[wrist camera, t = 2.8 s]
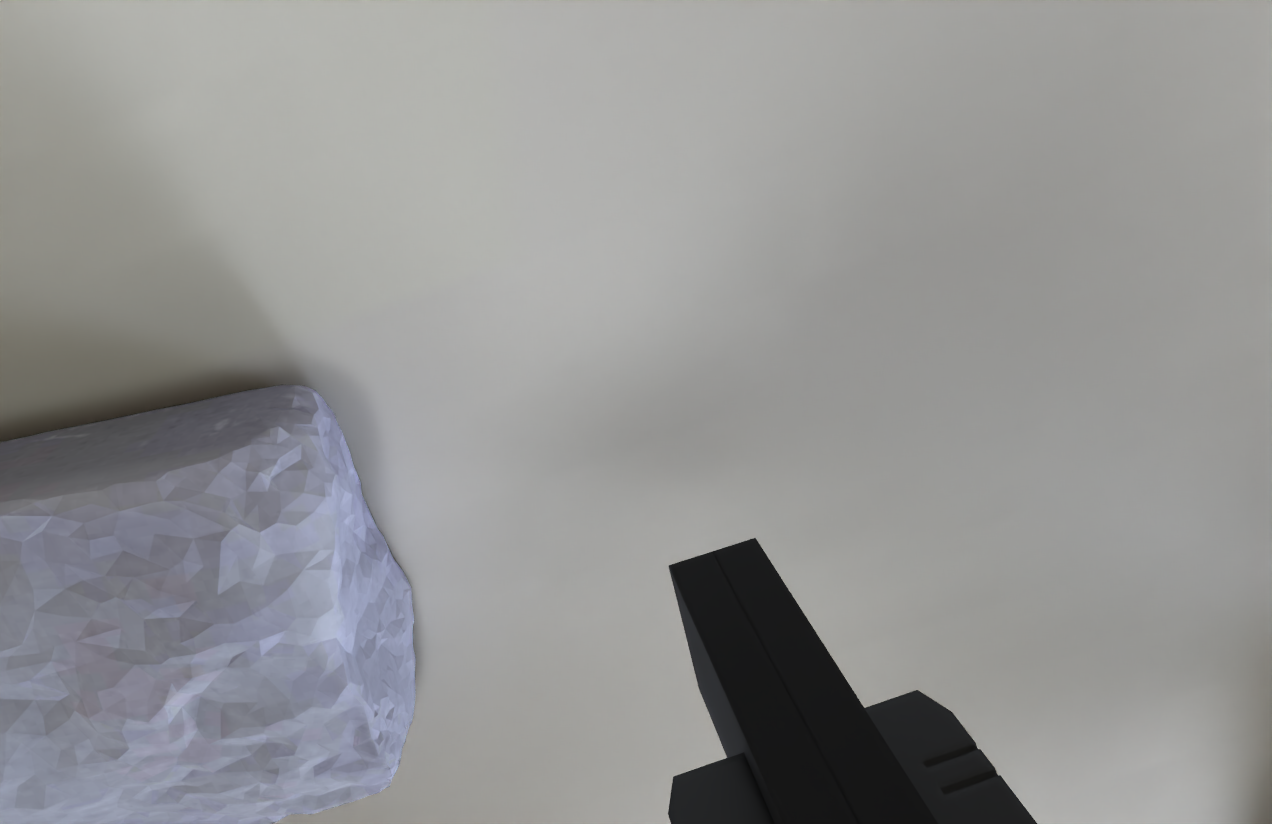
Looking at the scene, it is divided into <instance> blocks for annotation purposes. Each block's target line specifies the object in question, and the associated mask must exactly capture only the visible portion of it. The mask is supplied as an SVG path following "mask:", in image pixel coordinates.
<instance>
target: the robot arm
mask: <svg viewBox="0 0 1272 824" xmlns="http://www.w3.org/2000/svg"><path fill="white" fill-rule="evenodd" d="M669 569H670V573H671V577H672V581H673V585H674V589H675V593H676V597H677V601H678V605H679V610H680V614H681V618H682V622H683V626H684V630H685V634H686V638H687V642H688V646H689V650H690V654H691V658H692V662H693V666H694V670H695V674H696V678H697V682H698V686H699V689H700V692H701V694H702V697H703V699H704V702H705V704H706V707H707V709H708V711H709V714H710V716H711V719H712V721H713V724H714V726H715V729H716V731H717V733H718V736H719V738H720V741H721V743H722V746H723V748H724V751H725V753H726V755H727V758H726V759H723V760H720V761H717V762H714V763H711V764H709V765H706V766H703V767H700V768H697V769H694V770H691V771H688V772H685V773H682V774H680V775H677V776H674V777H673V783H672V790H671V797H670V804H669V811H668V815H669V818H670V821H671V824H1037V823H1036V822H1035V820H1034V819H1033V818H1032V816H1031V815H1030V814H1029V812H1028V811H1027V810H1026V808H1025V807H1024V806H1023V805H1022V803H1021V802H1020V801H1019V799H1018V798H1017V797H1016V795H1015V794H1014V793H1013V791H1012V790H1011V789H1010V788H1009V786H1008V785H1007V784H1006V782H1005V781H1004V780H1003V778H1002V777H1001V776H998V775H997V773H996V770H995V768H994V767H993V765H992V764H991V763H990V761H989V760H988V759H987V757H986V756H985V755H984V753H983V752H982V751H981V750H980V749H978V748H977V746H976V743H975V742H974V740H973V739H972V738H971V736H970V735H969V734H968V733H967V731H966V730H965V729H964V727H963V726H962V725H961V723H960V722H959V721H958V719H957V718H956V717H955V716H954V714H953V713H952V712H951V711H949V710H948V709H946V708H945V707H943V706H942V705H940V704H939V703H937V702H935V701H934V700H932V699H931V698H929V697H928V696H926V695H924V694H923V693H921V692H920V691H918V690H916V691H913V692H910V693H907V694H904V695H901V696H898V697H896V698H893V699H890V700H887V701H884V702H881V703H878V704H875V705H872V706H870V707H867V708H864V707H863V705H862V704H861V702H860V701H859V699H858V698H857V696H856V694H855V693H854V691H853V690H852V688H851V687H850V685H849V684H848V682H847V680H846V679H845V677H844V676H843V674H842V673H841V671H840V669H839V668H838V666H837V665H836V663H835V662H834V660H833V659H832V657H831V655H830V654H829V652H828V651H827V649H826V648H825V646H824V644H823V643H822V641H821V640H820V638H819V637H818V635H817V634H816V632H815V630H814V629H813V627H812V626H811V624H810V623H809V621H808V619H807V618H806V616H805V615H804V613H803V612H802V610H801V609H800V607H799V605H798V604H797V602H796V601H795V599H794V598H793V596H792V594H791V593H790V591H789V590H788V588H787V587H786V585H785V584H784V582H783V580H782V579H781V577H780V576H779V574H778V573H777V571H776V569H775V568H774V566H773V565H772V563H771V562H770V560H769V559H768V557H767V555H766V554H765V552H764V551H763V549H762V548H761V546H760V544H759V543H758V541H757V540H756V538H754V539H750V540H747V541H744V542H741V543H738V544H735V545H732V546H728V547H725V548H722V549H719V550H716V551H713V552H710V553H707V554H703V555H700V556H697V557H694V558H691V559H688V560H685V561H682V562H678V563H675V564H672V565H669Z"/></svg>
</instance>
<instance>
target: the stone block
mask: <svg viewBox="0 0 1272 824" xmlns="http://www.w3.org/2000/svg"><path fill="white" fill-rule="evenodd" d="M413 624H414V615H413V609H412V592H411V586H410V584H409V582H408V580H407V578H406V576H405V574H404V572H403V570H402V569H401V568H400V566H399V565H398V564H397V562H396V561H395V560H394V558H393V557H392V554H391V552H390V550H389V547H388V545H387V543H386V541H385V539H384V537H383V535H382V533H381V532H380V531H379V530H378V528H377V526H376V524H375V522H374V520H373V518H372V516H371V513H370V511H369V509H368V507H367V504H366V502H365V500H364V498H363V495H362V489H361V482H360V479H359V477H358V475H357V472H356V470H355V468H354V465H353V462H352V458H351V454H350V451H349V448H348V446H347V443H346V441H345V438H344V435H343V433H342V431H341V429H340V427H339V425H338V423H337V421H336V417H335V414H334V412H333V411H332V410H331V409H330V408H329V407H328V405H327V404H326V403H325V401H324V399H323V398H322V397H321V396H320V395H319V394H318V393H317V391H316V390H313V389H311V388H308V387H306V386H296V385H278V386H273V387H267V388H261V389H255V390H248V391H243V392H238V393H234V394H229V395H224V396H220V397H215V398H211V399H206V400H202V401H197V402H193V403H188V404H183V405H178V406H173V407H168V408H163V409H158V410H153V411H148V412H144V413H139V414H134V415H129V416H125V417H120V418H115V419H110V420H106V421H101V422H96V423H91V424H85V425H80V426H75V427H70V428H65V429H60V430H55V431H49V432H45V433H41V434H37V435H33V436H29V437H24V438H19V439H14V440H9V441H4V442H0V824H272V823H275V822H277V821H279V820H280V819H282V818H284V817H286V816H287V815H289V814H314V813H317V812H320V811H323V810H327V809H330V808H334V807H337V806H340V805H343V804H346V803H350V802H353V801H356V800H359V799H361V798H363V797H366V796H368V795H372V794H377V793H379V792H380V791H382V790H383V789H384V788H386V787H390V783H391V780H392V778H393V776H394V774H395V773H396V771H397V769H398V766H399V764H400V759H401V753H402V748H403V746H404V743H405V741H406V735H407V732H408V729H409V727H410V725H411V723H412V719H413V714H414V705H415V691H416V689H415V662H416V657H415V653H414V649H413V628H412V627H413Z"/></svg>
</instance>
